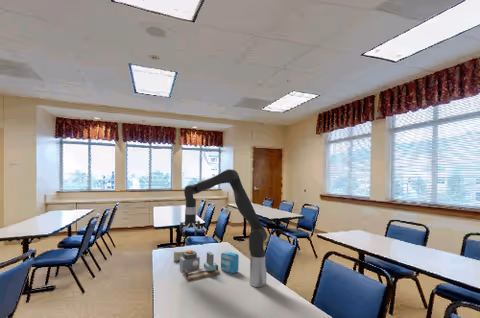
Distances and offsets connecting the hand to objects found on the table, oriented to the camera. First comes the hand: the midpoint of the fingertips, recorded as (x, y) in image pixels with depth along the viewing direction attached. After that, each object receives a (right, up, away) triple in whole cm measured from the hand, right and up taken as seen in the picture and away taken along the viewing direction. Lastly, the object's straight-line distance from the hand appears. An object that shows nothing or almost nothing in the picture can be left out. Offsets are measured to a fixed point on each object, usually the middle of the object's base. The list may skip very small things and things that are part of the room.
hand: (189, 236), depth 164 cm
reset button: (0, -12, 0) cm, 12 cm away
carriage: (+15, -20, -6) cm, 25 cm away
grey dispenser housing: (0, -23, 0) cm, 23 cm away
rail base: (+10, -22, -9) cm, 26 cm away
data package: (+28, -23, -3) cm, 36 cm away
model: (-10, -24, +14) cm, 29 cm away
